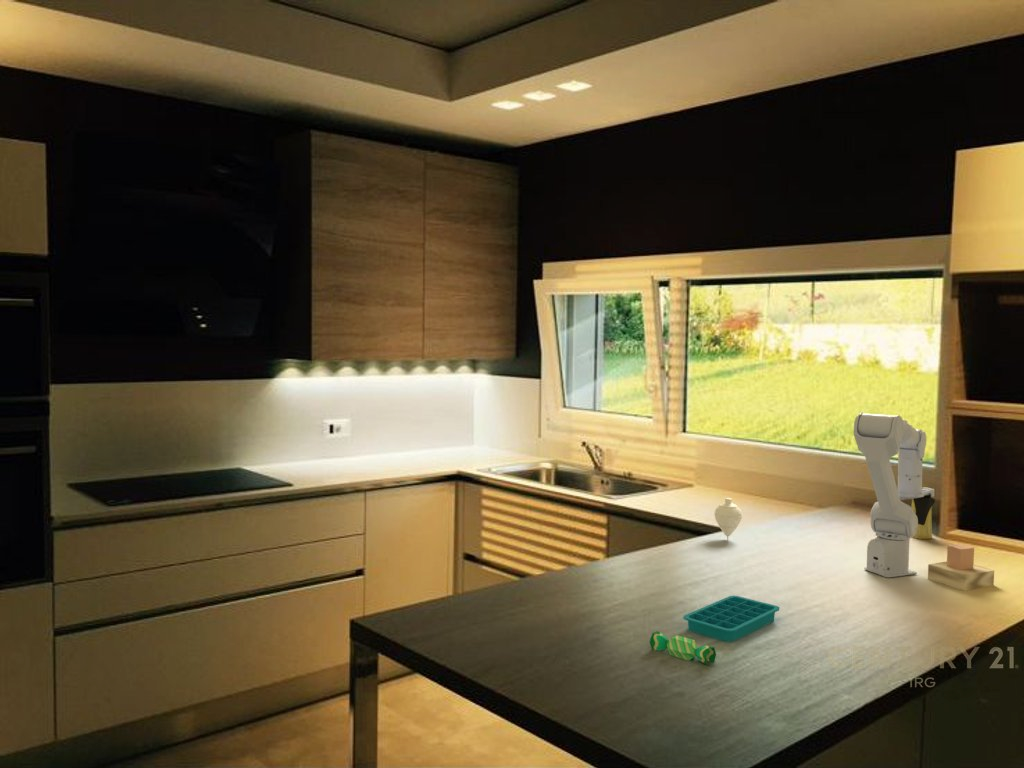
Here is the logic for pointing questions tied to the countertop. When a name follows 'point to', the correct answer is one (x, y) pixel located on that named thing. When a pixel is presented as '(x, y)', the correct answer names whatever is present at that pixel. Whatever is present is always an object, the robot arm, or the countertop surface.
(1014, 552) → the countertop surface
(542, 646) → the countertop surface
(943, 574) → the beech block
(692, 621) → the ice cube tray
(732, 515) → the spinning top
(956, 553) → the terracotta block
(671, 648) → the candy
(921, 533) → the vase
